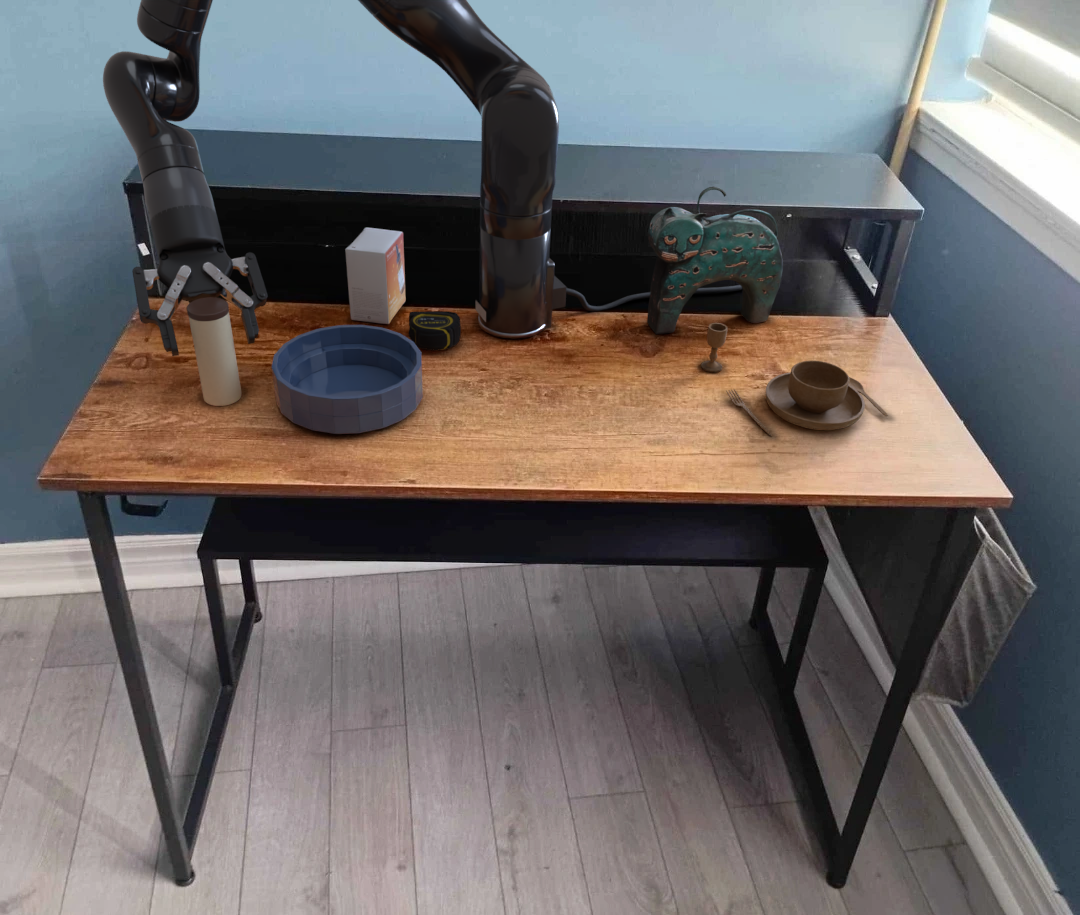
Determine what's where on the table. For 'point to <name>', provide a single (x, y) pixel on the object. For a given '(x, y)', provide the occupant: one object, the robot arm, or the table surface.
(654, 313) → the ceramic cat
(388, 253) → the small box
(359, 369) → the bowl
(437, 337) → the tape measure
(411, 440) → the table surface
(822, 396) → the place setting
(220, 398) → the tube
